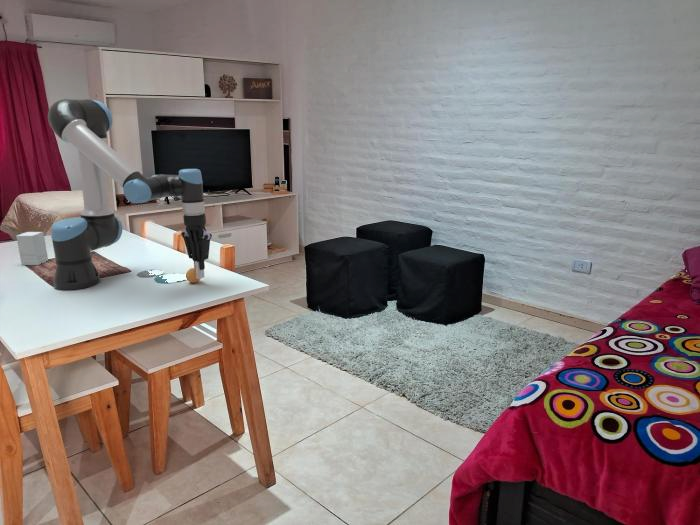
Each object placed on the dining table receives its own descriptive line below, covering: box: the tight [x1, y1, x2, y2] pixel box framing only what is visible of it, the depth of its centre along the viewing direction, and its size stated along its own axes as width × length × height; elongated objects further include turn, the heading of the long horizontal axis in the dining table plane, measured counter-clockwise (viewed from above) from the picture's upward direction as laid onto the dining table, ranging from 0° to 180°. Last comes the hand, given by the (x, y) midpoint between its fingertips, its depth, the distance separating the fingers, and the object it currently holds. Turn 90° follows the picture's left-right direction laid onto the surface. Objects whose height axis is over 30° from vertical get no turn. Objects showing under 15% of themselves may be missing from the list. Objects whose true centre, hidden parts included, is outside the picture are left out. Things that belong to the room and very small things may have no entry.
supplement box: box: [15, 231, 49, 266], centre depth 222 cm, size 7×7×13 cm
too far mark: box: [136, 269, 157, 278], centre depth 208 cm, size 10×10×1 cm
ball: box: [186, 267, 201, 284], centre depth 196 cm, size 6×6×6 cm
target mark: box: [153, 276, 169, 284], centre depth 202 cm, size 13×13×1 cm
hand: (200, 277), depth 195 cm, fingers closed
